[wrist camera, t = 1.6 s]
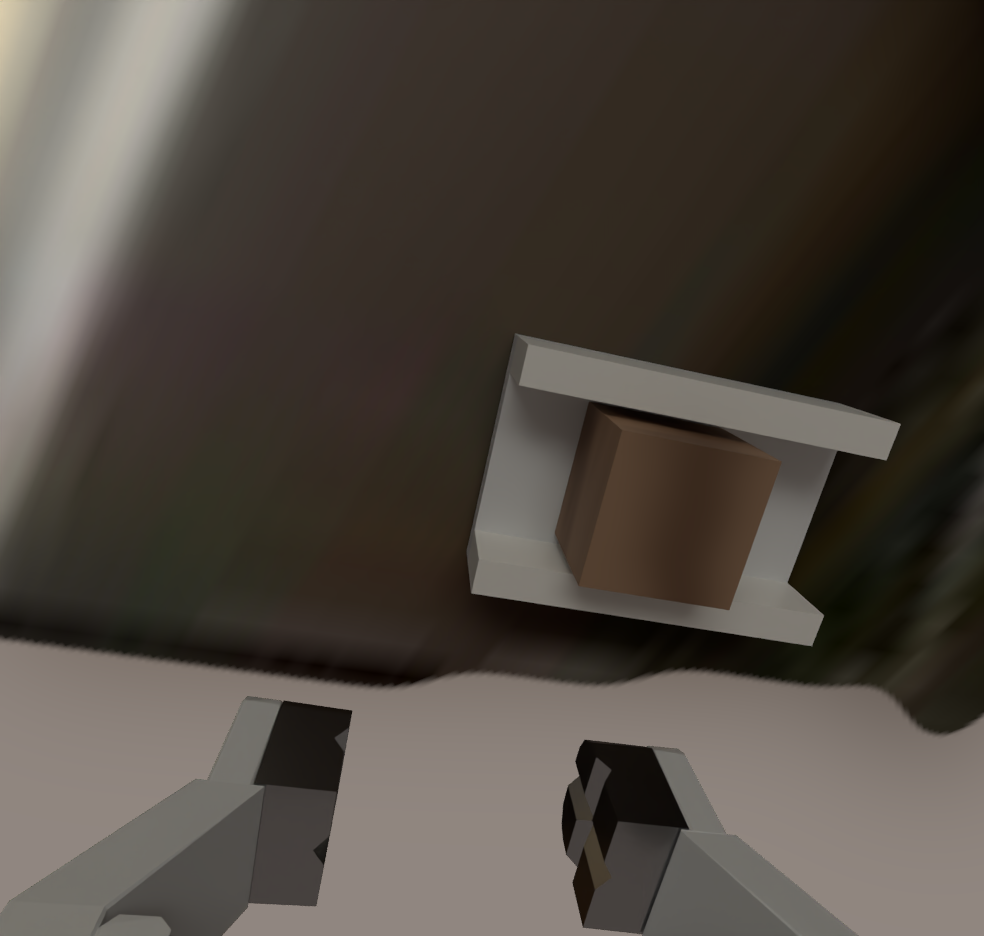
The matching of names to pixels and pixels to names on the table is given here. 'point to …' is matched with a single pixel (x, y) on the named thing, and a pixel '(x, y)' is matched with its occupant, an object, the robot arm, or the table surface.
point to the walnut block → (662, 507)
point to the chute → (669, 393)
